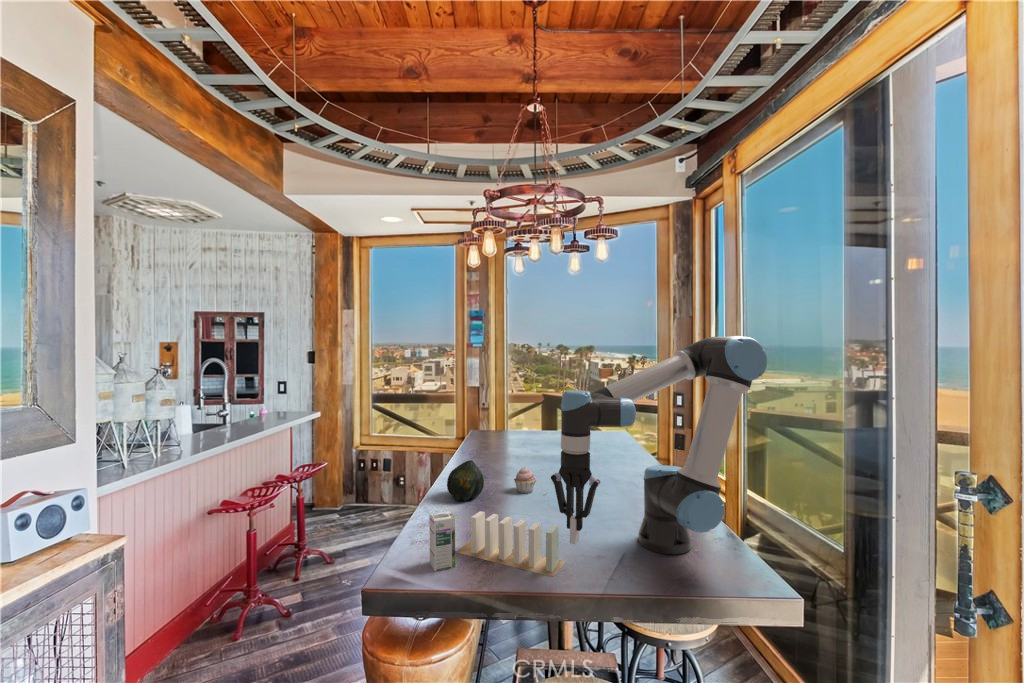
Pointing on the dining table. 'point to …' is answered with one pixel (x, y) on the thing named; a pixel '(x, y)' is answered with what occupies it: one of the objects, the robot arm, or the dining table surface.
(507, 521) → the domino
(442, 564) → the syrup box
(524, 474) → the cupcake
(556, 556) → the domino
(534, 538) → the domino
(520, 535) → the domino
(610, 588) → the dining table surface
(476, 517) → the domino
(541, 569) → the board
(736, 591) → the dining table surface
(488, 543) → the domino
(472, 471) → the squash
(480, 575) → the dining table surface
